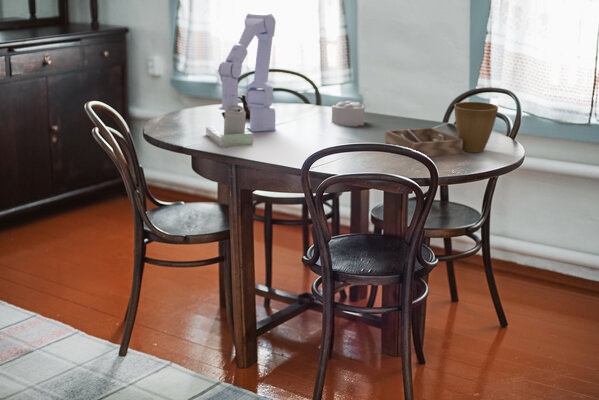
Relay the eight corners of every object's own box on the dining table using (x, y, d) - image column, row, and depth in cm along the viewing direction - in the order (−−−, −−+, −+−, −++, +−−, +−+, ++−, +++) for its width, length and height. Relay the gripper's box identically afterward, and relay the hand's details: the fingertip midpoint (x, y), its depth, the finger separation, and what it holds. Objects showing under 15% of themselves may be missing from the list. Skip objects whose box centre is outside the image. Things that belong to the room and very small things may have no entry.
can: (236, 145, 272) (238, 115, 266) (219, 138, 275) (220, 108, 268) (248, 137, 278) (250, 107, 271) (231, 131, 281) (232, 101, 274)
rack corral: (430, 140, 281) (431, 127, 279) (461, 154, 262) (463, 139, 261) (384, 144, 274) (385, 130, 273) (413, 158, 256) (414, 143, 254)
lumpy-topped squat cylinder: (363, 126, 304) (364, 105, 301) (331, 125, 305) (331, 104, 302) (363, 121, 314) (364, 100, 311) (331, 120, 315) (332, 99, 312)
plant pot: (446, 145, 274) (449, 101, 269) (486, 145, 275) (490, 101, 270) (456, 155, 260) (460, 109, 255) (499, 155, 261) (504, 109, 256)
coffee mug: (266, 117, 318) (266, 94, 315) (254, 121, 311) (254, 96, 308) (244, 114, 323) (244, 91, 320) (231, 117, 316) (231, 93, 313)
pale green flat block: (236, 132, 289) (236, 122, 288) (254, 145, 270) (254, 134, 269) (206, 134, 285) (206, 124, 284) (221, 147, 266) (221, 136, 265)
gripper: (214, 92, 280) (214, 128, 284) (224, 98, 267) (224, 136, 271) (232, 91, 282) (232, 127, 286) (243, 97, 269) (243, 135, 274)
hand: (230, 131), depth 279 cm, fingers closed, pressing on can
